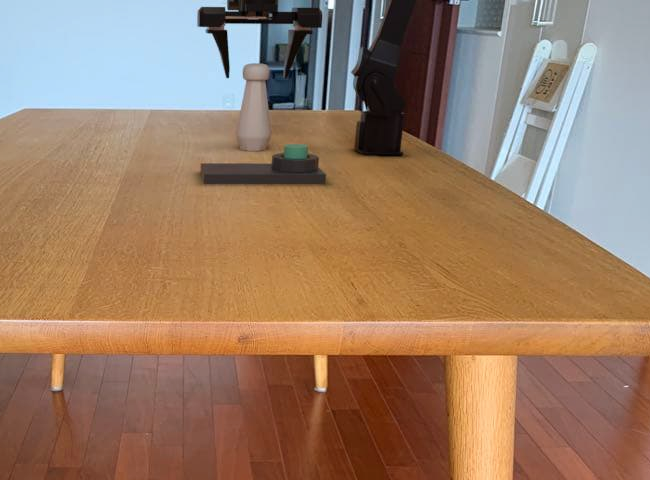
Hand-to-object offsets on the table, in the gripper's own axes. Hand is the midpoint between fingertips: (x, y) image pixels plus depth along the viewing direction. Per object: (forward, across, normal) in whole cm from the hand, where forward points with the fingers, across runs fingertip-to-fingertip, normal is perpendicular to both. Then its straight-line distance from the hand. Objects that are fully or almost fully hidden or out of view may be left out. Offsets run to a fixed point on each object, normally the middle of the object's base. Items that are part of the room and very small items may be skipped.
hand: (256, 78), depth 128 cm
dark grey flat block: (+11, +2, +26) cm, 28 cm away
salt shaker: (+11, 0, 0) cm, 11 cm away
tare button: (+8, -2, +26) cm, 27 cm away
